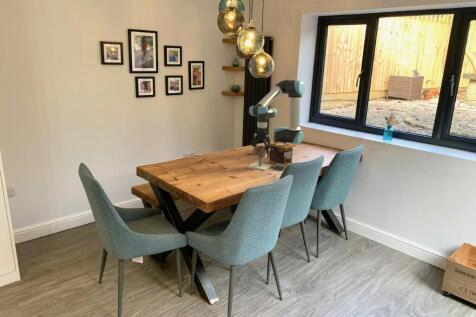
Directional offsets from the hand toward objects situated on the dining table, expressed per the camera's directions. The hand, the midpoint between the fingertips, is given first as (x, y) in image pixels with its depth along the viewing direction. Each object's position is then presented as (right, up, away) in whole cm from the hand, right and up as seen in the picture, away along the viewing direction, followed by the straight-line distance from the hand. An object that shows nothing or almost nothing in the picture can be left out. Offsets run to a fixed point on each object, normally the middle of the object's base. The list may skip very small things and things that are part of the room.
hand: (260, 156), depth 280 cm
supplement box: (+17, -6, +15) cm, 23 cm away
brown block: (0, +1, 0) cm, 1 cm away
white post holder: (0, -8, +2) cm, 9 cm away
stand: (+15, -10, -1) cm, 18 cm away
